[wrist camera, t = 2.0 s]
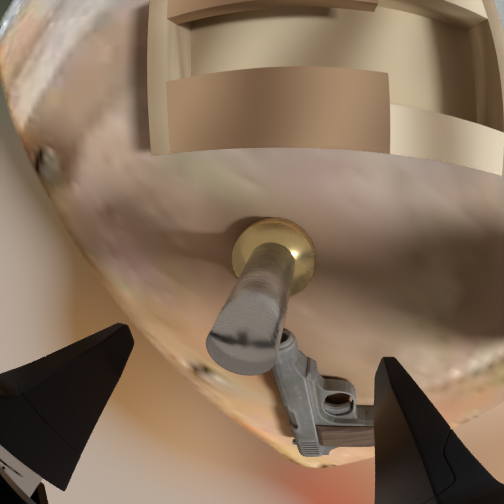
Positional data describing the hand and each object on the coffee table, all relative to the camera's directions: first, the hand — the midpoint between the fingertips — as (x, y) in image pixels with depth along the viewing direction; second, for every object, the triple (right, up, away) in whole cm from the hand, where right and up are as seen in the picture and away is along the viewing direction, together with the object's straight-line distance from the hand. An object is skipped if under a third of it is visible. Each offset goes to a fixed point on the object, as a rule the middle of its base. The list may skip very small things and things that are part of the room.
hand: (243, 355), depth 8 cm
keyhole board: (+4, +13, +2) cm, 14 cm away
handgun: (+9, -8, +11) cm, 16 cm away
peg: (+2, +3, +7) cm, 8 cm away
